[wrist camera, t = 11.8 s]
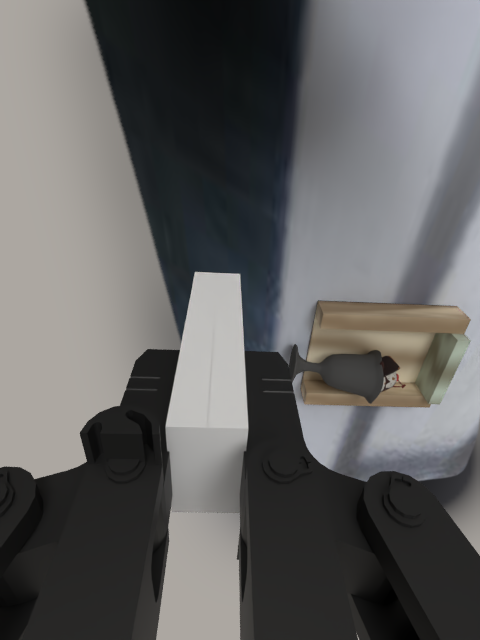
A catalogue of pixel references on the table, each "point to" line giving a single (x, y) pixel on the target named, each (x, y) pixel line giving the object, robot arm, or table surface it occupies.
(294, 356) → the sundae
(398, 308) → the rest
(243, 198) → the table surface
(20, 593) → the robot arm
